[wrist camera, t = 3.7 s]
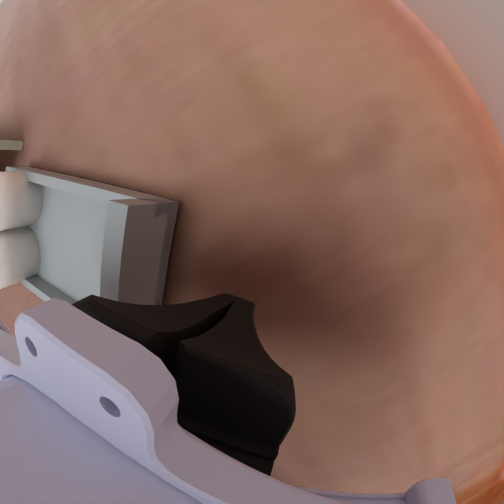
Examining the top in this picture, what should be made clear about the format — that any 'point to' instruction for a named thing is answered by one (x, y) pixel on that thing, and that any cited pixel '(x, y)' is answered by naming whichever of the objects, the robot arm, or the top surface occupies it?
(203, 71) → the top surface
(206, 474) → the robot arm
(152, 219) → the tray
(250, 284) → the top surface
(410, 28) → the top surface
